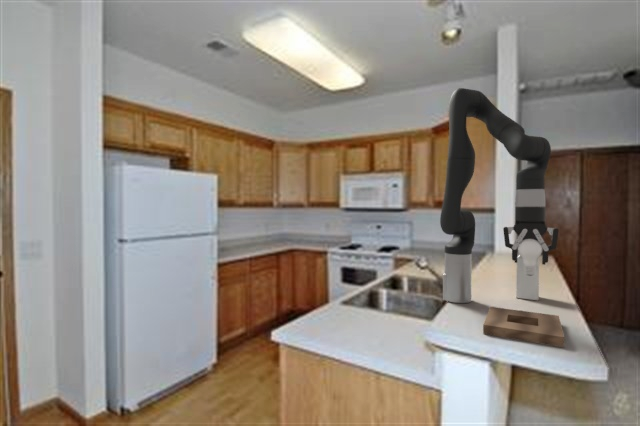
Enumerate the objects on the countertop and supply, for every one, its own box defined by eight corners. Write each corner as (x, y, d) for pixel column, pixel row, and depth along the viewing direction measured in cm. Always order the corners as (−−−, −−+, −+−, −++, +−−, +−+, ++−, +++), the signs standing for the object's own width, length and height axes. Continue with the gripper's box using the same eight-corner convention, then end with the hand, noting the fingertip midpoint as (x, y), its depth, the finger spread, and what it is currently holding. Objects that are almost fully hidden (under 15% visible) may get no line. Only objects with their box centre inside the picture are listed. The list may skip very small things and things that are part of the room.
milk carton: (538, 296, 136) (539, 247, 135) (538, 301, 130) (539, 248, 129) (517, 294, 140) (518, 245, 139) (516, 298, 134) (516, 247, 133)
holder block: (483, 333, 96) (483, 324, 96) (490, 314, 113) (490, 306, 113) (564, 347, 87) (564, 337, 87) (558, 324, 104) (558, 315, 104)
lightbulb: (534, 278, 99) (534, 239, 99) (512, 275, 105) (512, 237, 104) (547, 276, 102) (547, 238, 102) (525, 273, 108) (525, 236, 108)
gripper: (501, 205, 103) (501, 263, 103) (561, 205, 96) (561, 267, 97) (502, 205, 110) (502, 260, 110) (558, 205, 103) (558, 263, 103)
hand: (529, 263), depth 103 cm, fingers closed on lightbulb, 6 cm apart
